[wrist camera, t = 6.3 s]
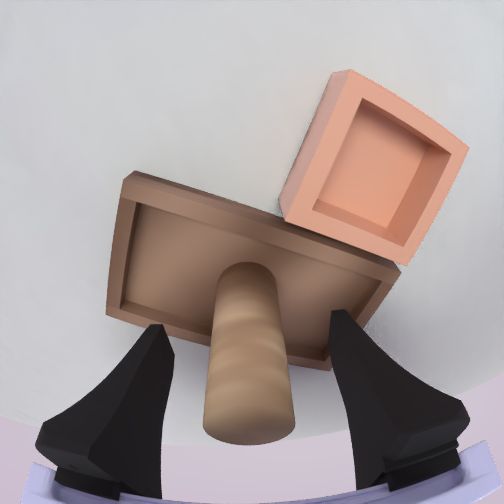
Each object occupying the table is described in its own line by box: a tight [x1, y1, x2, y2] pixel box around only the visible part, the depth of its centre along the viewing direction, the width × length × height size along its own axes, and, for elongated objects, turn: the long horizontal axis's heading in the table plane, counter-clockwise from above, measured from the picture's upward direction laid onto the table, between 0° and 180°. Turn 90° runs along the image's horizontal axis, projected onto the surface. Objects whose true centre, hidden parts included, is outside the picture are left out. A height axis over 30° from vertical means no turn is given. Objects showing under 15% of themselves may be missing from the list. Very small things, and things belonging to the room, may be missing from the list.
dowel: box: [203, 262, 295, 445], centre depth 12 cm, size 3×3×8 cm
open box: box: [278, 69, 469, 266], centre depth 12 cm, size 6×6×2 cm
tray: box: [106, 171, 401, 371], centre depth 16 cm, size 14×8×2 cm, turn 70°
